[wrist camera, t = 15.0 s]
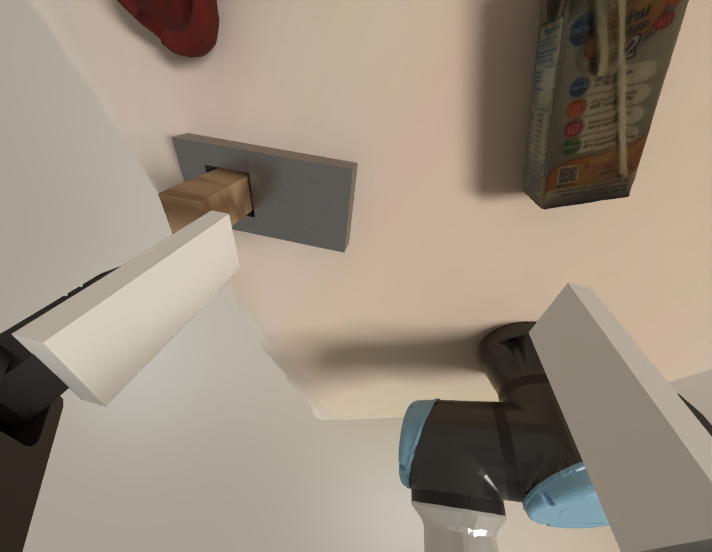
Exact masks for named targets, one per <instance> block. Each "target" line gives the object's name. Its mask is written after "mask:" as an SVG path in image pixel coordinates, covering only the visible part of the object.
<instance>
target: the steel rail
mask: <svg viewBox="0 0 712 552" xmlns="http://www.w3.org/2000/svg"><path fill="white" fill-rule="evenodd" d="M172 139H173V143H174V146H175V150H176V153H177V156H178V160H179V163H180V167H181V170H182V174H183V177H184V181H185V182H186V181H189V180H191V179H193V178H196V177H198V176H200V175H203V174H205V173H207V172H210V171H212V170H214V169H217V168H225V169H230V170H235V171H241V172H246V173H249V177H250V184H251V192H252V199H253V207H254V210H252V211H251V212H250V213H249V214H247V215H246V216H245V217H243V218H242V219H241V220H239V221H238V222H237V223H235V224H234V225H233V226H232V229H234V230H239V231H244V232H248V233H253V234H258V235H263V236H268V237H272V238H277V239H282V240H287V241H292V242H296V243H301V244H306V245H311V246H316V247H320V248H325V249H330V250H335V251H340V252H345V250H346V248H347V246H348V243H349V236H350V227H351V218H352V209H353V200H354V191H355V182H356V173H357V164H358V163H354V162H348V161H342V160H337V159H331V158H325V157H320V156H314V155H308V154H303V153H297V152H291V151H286V150H280V149H274V148H269V147H263V146H257V145H252V144H246V143H240V142H235V141H229V140H223V139H218V138H212V137H206V136H201V135H195V134H189V133H187V134H183V135H179V136H174V137H172Z"/></svg>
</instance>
